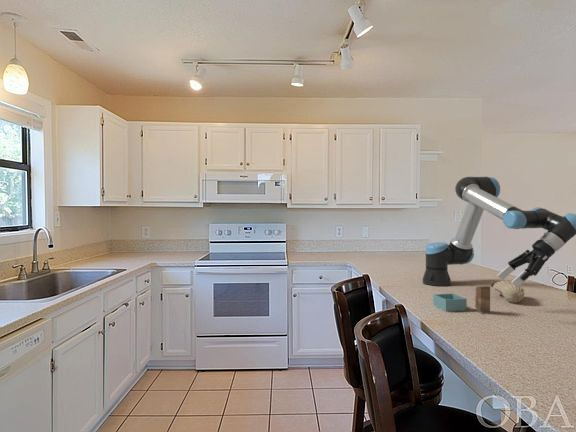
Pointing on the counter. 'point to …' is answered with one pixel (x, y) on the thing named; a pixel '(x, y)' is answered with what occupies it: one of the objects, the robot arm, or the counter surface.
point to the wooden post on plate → (482, 299)
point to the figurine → (509, 290)
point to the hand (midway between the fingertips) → (506, 281)
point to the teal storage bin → (450, 302)
